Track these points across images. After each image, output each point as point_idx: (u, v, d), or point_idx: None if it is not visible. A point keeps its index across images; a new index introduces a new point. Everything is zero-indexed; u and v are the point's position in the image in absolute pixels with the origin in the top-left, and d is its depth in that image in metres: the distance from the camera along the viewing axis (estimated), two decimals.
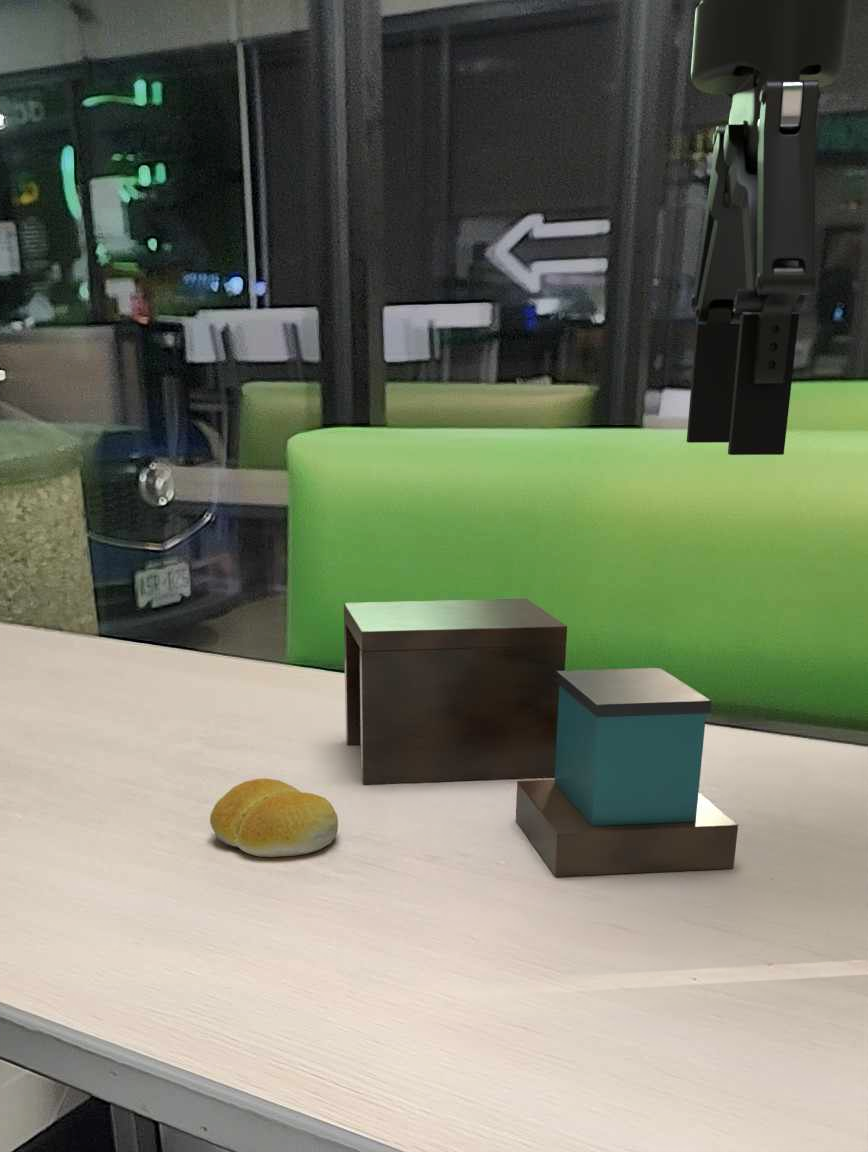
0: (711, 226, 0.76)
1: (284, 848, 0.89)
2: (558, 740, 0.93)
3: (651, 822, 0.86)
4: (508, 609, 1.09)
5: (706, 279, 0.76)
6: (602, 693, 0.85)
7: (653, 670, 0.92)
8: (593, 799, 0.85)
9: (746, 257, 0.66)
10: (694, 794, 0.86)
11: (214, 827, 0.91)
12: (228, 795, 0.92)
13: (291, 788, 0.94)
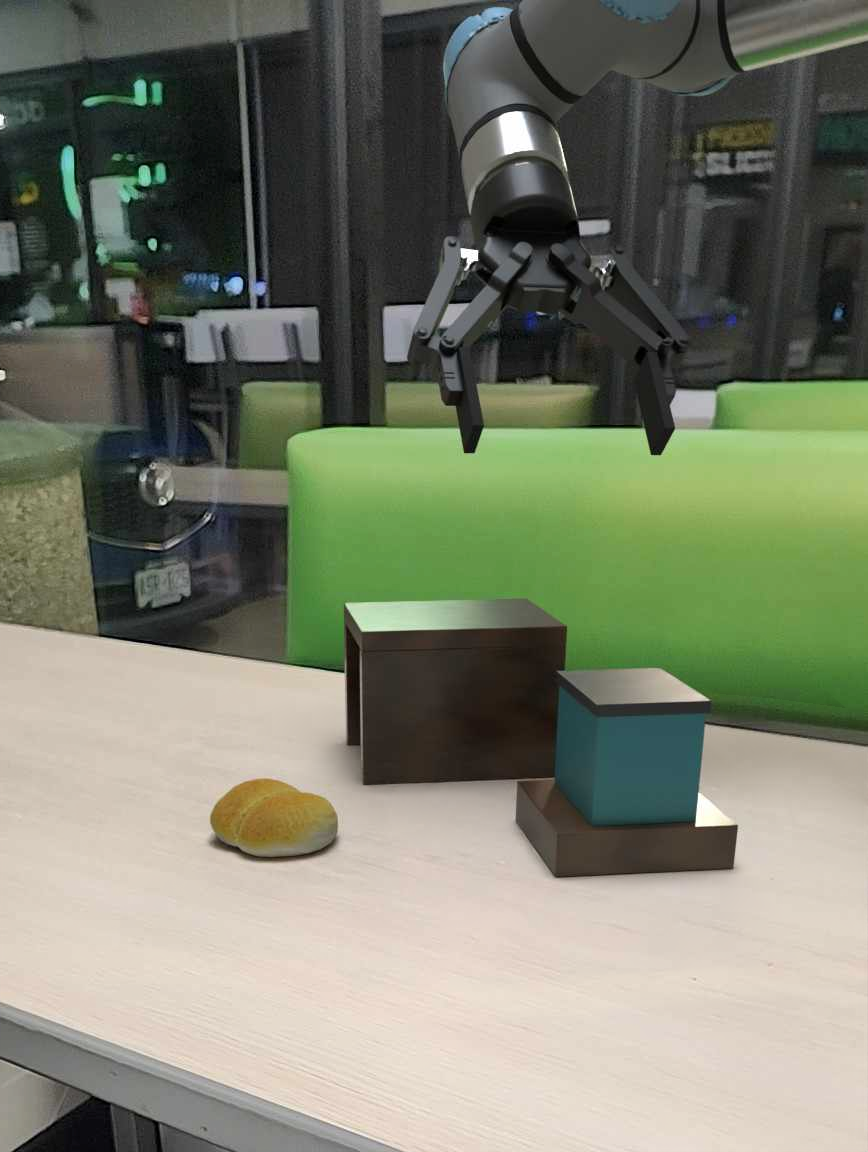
0: None
1: (284, 848, 0.89)
2: (558, 740, 0.93)
3: (651, 822, 0.86)
4: (508, 609, 1.09)
5: (619, 353, 0.95)
6: (602, 693, 0.85)
7: (653, 670, 0.92)
8: (593, 799, 0.85)
9: None
10: (694, 794, 0.86)
11: (214, 827, 0.91)
12: (228, 795, 0.92)
13: (291, 788, 0.94)
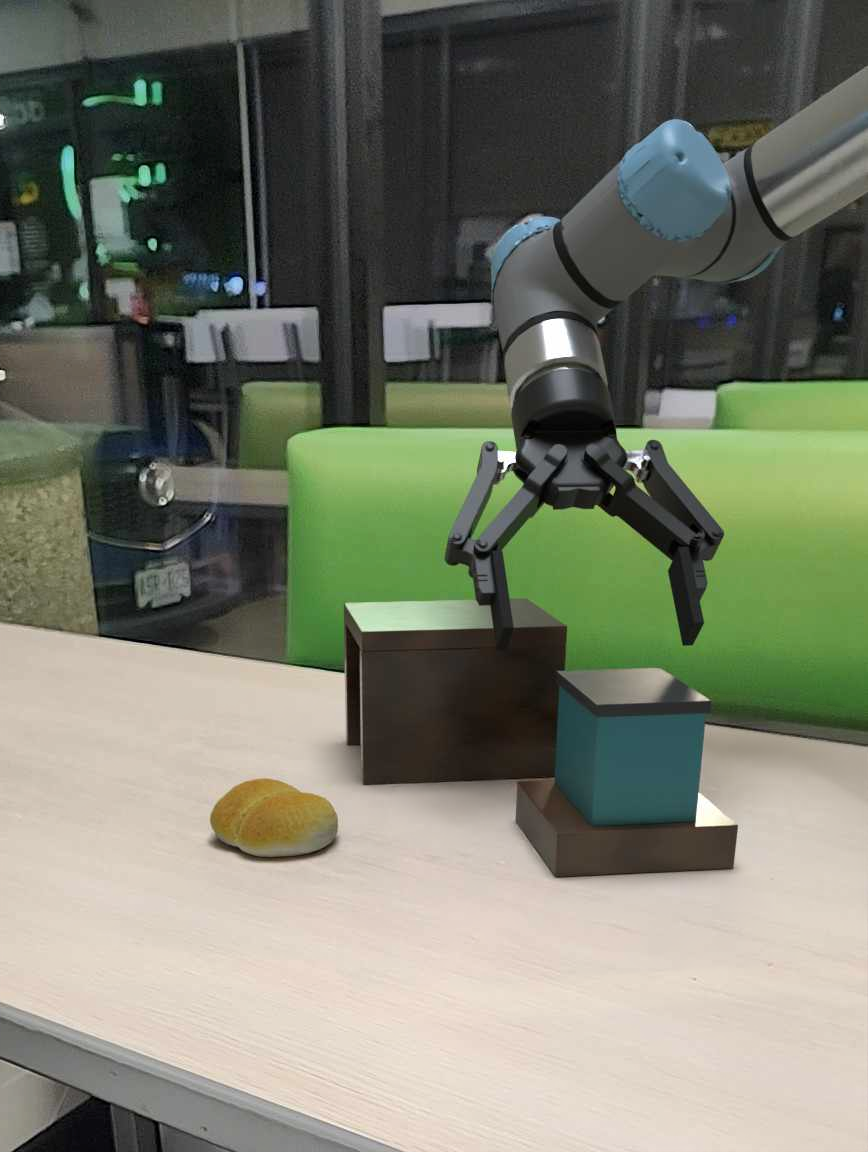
0: None
1: (284, 848, 0.89)
2: (558, 740, 0.93)
3: (651, 822, 0.86)
4: None
5: None
6: (602, 693, 0.85)
7: (653, 670, 0.92)
8: (593, 799, 0.85)
9: None
10: (694, 794, 0.86)
11: (214, 827, 0.91)
12: (228, 795, 0.92)
13: (291, 788, 0.94)
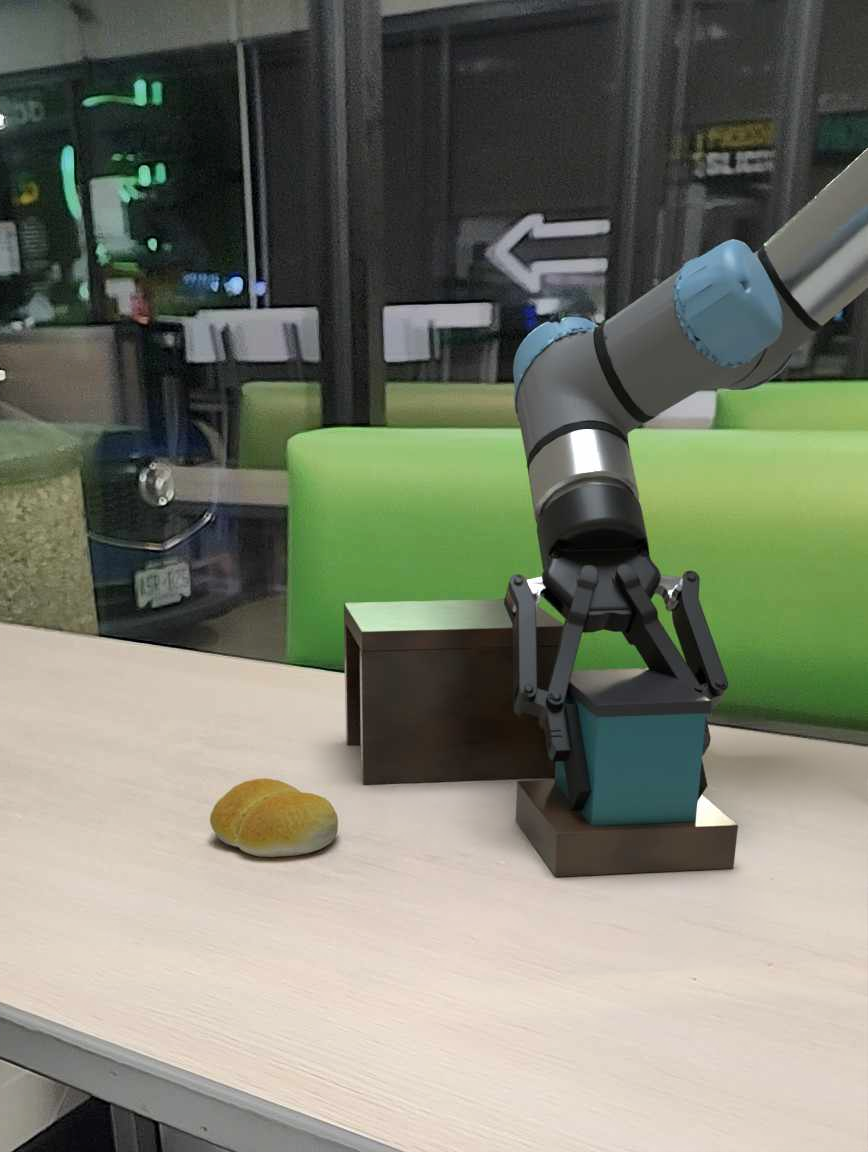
0: (682, 647, 0.93)
1: (284, 848, 0.89)
2: None
3: (651, 823, 0.86)
4: None
5: None
6: (602, 693, 0.85)
7: (653, 670, 0.92)
8: (593, 799, 0.85)
9: None
10: (694, 794, 0.86)
11: (214, 827, 0.91)
12: (228, 795, 0.92)
13: (291, 788, 0.94)
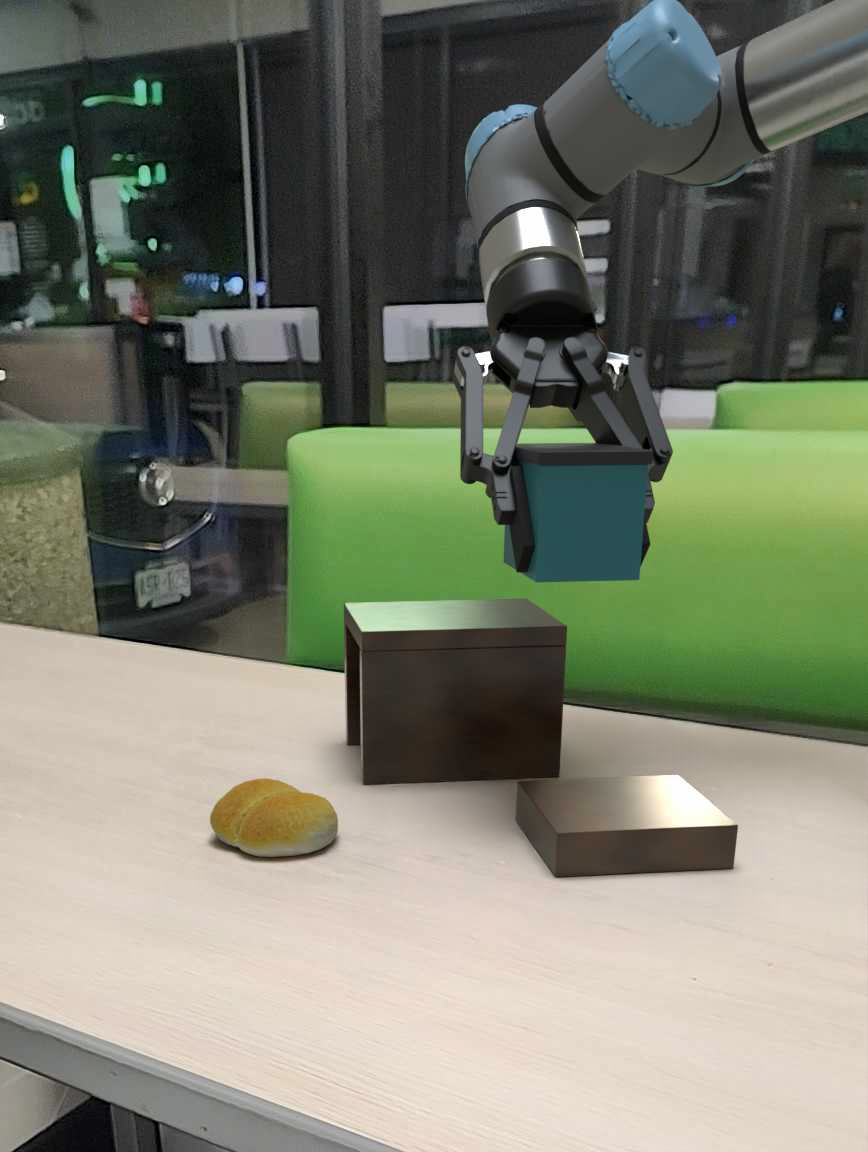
0: (629, 423, 0.94)
1: (284, 848, 0.89)
2: None
3: (595, 580, 0.87)
4: (508, 609, 1.09)
5: None
6: (546, 449, 0.86)
7: (600, 443, 0.92)
8: (537, 553, 0.86)
9: None
10: (637, 551, 0.87)
11: (214, 827, 0.91)
12: (228, 795, 0.92)
13: (291, 788, 0.94)
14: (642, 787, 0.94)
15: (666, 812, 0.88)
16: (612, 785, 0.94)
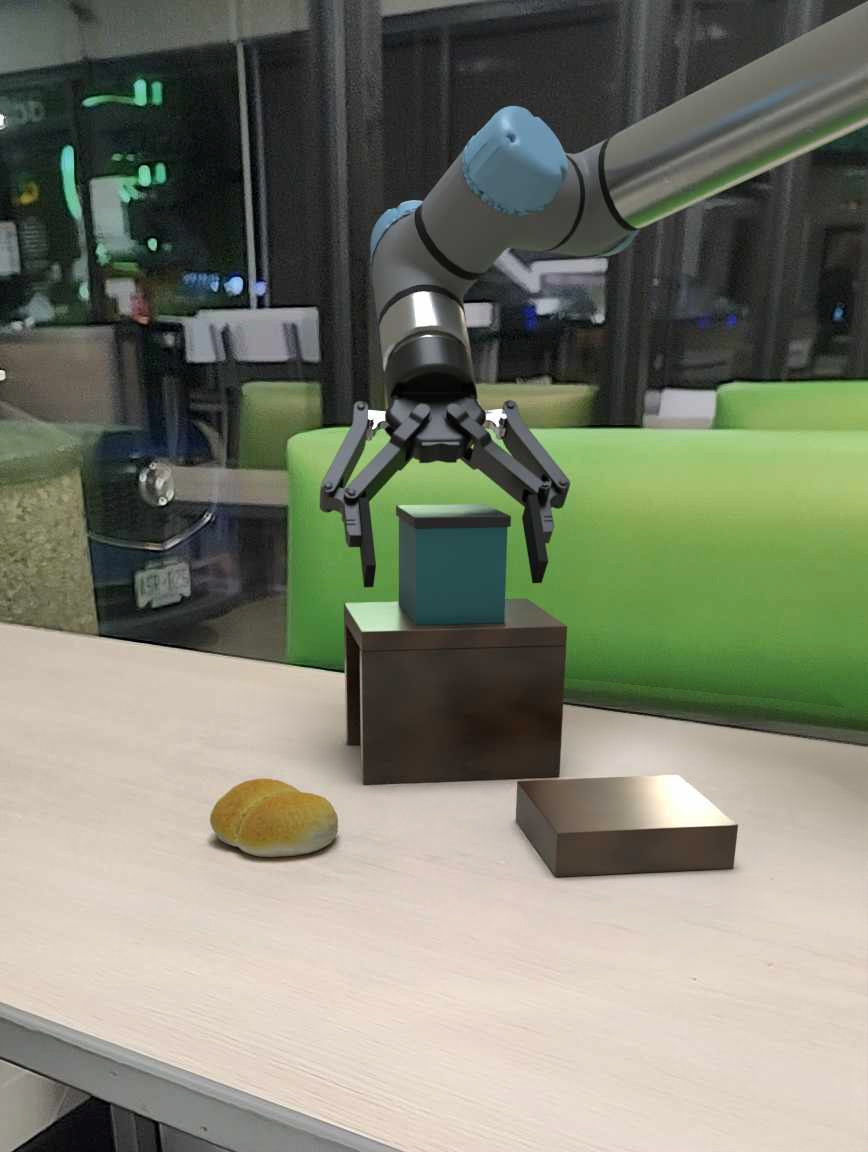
0: None
1: (284, 848, 0.89)
2: (399, 565, 1.10)
3: (466, 623, 1.03)
4: (508, 609, 1.09)
5: None
6: (424, 513, 1.02)
7: (477, 504, 1.09)
8: (416, 601, 1.02)
9: None
10: (501, 598, 1.03)
11: (214, 827, 0.91)
12: (228, 795, 0.92)
13: (291, 788, 0.94)
14: (642, 787, 0.94)
15: (666, 812, 0.88)
16: (612, 785, 0.94)
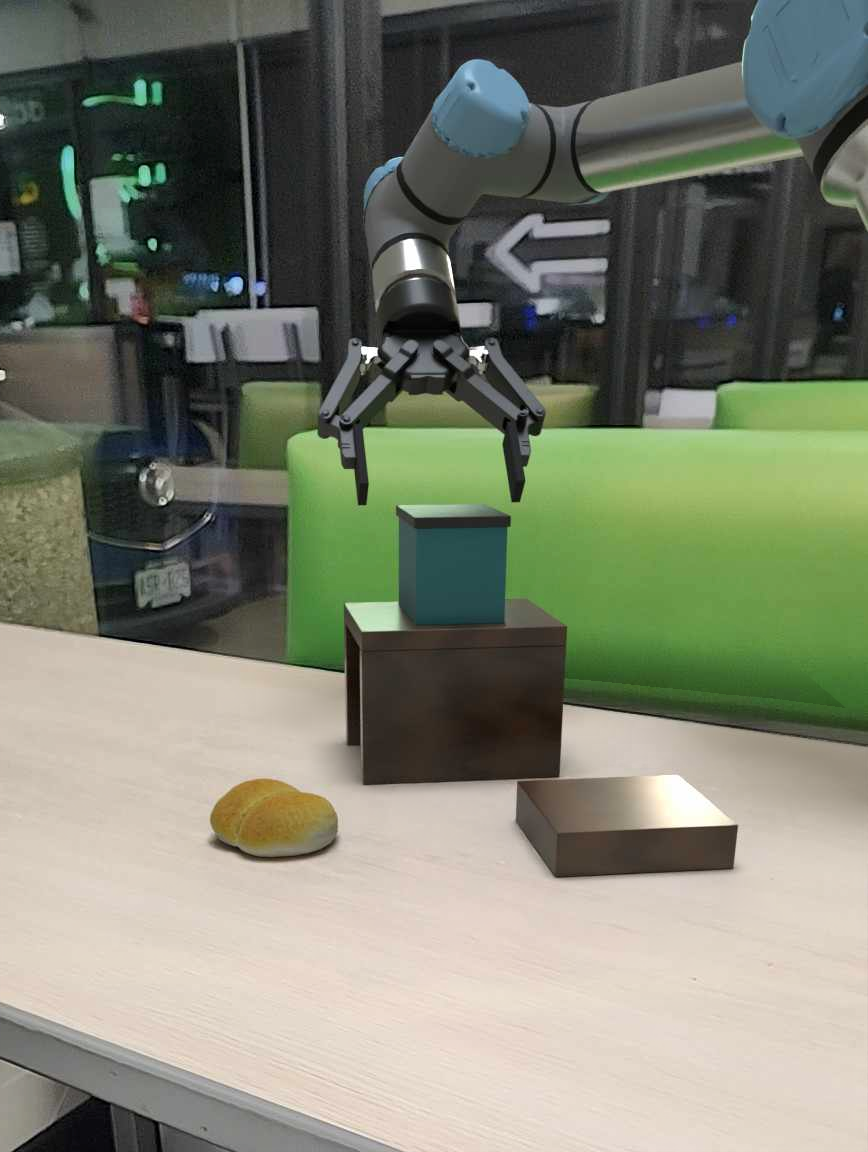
0: None
1: (284, 848, 0.89)
2: (399, 565, 1.10)
3: (466, 623, 1.03)
4: (508, 609, 1.09)
5: (492, 422, 1.20)
6: (424, 513, 1.02)
7: (477, 504, 1.09)
8: (416, 601, 1.02)
9: None
10: (501, 598, 1.03)
11: (214, 827, 0.91)
12: (228, 795, 0.92)
13: (291, 788, 0.94)
14: (642, 787, 0.94)
15: (666, 812, 0.88)
16: (612, 785, 0.94)
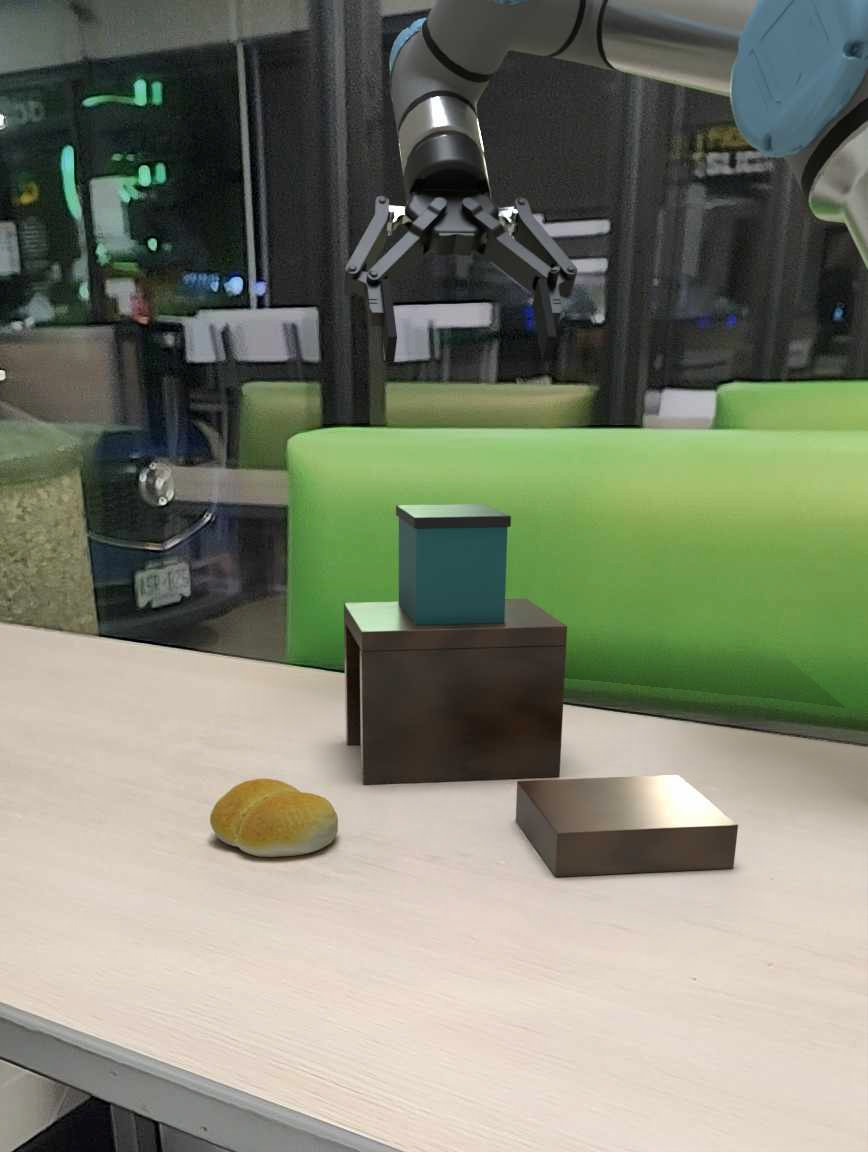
0: None
1: (284, 848, 0.89)
2: (399, 565, 1.10)
3: (466, 623, 1.03)
4: (508, 609, 1.09)
5: None
6: (424, 513, 1.02)
7: (477, 504, 1.09)
8: (416, 601, 1.02)
9: None
10: (501, 598, 1.03)
11: (214, 827, 0.91)
12: (228, 795, 0.92)
13: (291, 788, 0.94)
14: (642, 787, 0.94)
15: (666, 812, 0.88)
16: (612, 785, 0.94)
